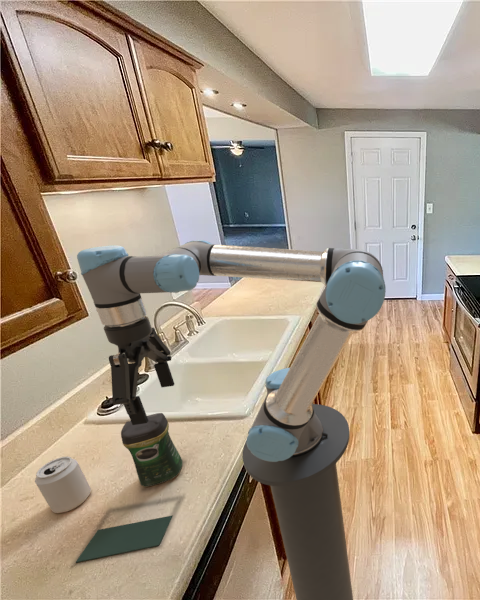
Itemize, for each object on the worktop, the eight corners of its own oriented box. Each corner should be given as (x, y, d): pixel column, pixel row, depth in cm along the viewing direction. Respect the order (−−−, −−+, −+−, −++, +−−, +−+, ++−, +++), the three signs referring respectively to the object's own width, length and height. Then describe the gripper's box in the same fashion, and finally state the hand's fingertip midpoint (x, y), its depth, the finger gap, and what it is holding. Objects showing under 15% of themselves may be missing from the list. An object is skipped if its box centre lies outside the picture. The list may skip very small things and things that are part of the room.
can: (46, 509, 82) (25, 473, 77) (82, 484, 88) (65, 450, 84) (62, 520, 79) (41, 483, 75) (98, 493, 85) (81, 458, 81)
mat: (181, 499, 84) (180, 496, 84) (159, 547, 73) (158, 544, 73) (110, 512, 81) (109, 509, 81) (77, 564, 70) (75, 562, 70)
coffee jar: (185, 457, 96) (167, 405, 89) (180, 478, 89) (161, 424, 82) (145, 469, 92) (123, 416, 86) (137, 492, 86) (113, 437, 79)
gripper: (136, 301, 80) (161, 375, 87) (61, 351, 57) (104, 446, 65) (170, 298, 81) (192, 371, 89) (111, 346, 58) (147, 439, 66)
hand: (155, 403), depth 77 cm, fingers open, 13 cm apart
